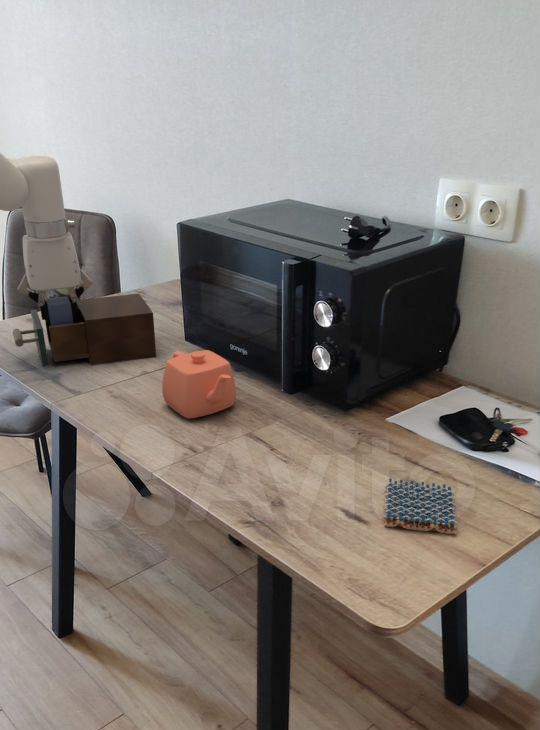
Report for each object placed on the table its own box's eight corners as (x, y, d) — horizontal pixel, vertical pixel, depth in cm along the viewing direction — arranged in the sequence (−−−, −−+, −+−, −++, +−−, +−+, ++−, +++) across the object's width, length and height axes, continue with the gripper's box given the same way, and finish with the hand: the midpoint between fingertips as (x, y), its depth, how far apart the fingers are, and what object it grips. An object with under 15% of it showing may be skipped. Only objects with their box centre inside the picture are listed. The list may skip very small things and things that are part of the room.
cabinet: (91, 365, 143) (85, 320, 138) (81, 343, 153) (75, 300, 148) (156, 356, 148) (153, 312, 142) (142, 335, 157) (139, 293, 152)
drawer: (20, 369, 139) (13, 331, 135) (15, 348, 148) (8, 312, 144) (105, 358, 144) (101, 321, 140) (95, 338, 153) (91, 303, 149)
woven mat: (381, 529, 99) (382, 517, 97) (383, 487, 107) (385, 476, 106) (457, 537, 97) (459, 526, 96) (453, 495, 106) (455, 484, 105)
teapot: (202, 382, 137) (200, 332, 132) (256, 418, 125) (257, 364, 120) (150, 397, 131) (146, 345, 126) (202, 436, 120) (200, 380, 114)
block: (51, 326, 140) (47, 305, 138) (48, 319, 144) (45, 298, 141) (73, 324, 142) (70, 303, 139) (70, 316, 145) (67, 296, 143)
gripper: (88, 220, 138) (99, 310, 148) (-2, 227, 133) (15, 319, 143) (94, 229, 133) (105, 322, 143) (1, 236, 127) (19, 332, 137)
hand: (60, 320), depth 143 cm, fingers closed on block, 4 cm apart
